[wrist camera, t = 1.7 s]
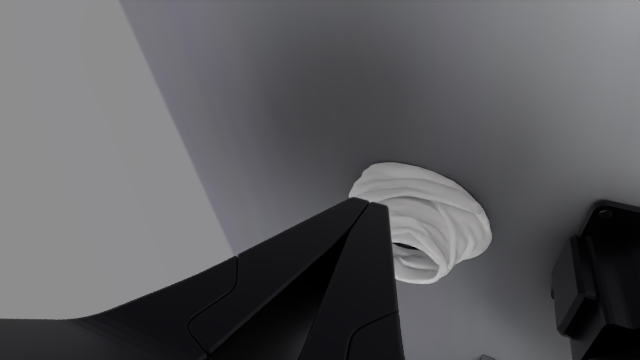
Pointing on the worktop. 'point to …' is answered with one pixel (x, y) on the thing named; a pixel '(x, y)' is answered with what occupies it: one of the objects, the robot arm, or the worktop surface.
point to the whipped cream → (425, 219)
